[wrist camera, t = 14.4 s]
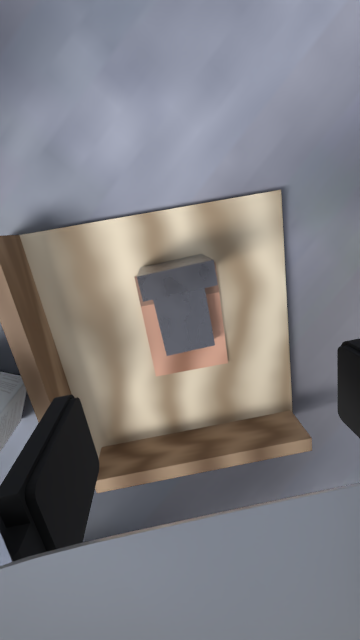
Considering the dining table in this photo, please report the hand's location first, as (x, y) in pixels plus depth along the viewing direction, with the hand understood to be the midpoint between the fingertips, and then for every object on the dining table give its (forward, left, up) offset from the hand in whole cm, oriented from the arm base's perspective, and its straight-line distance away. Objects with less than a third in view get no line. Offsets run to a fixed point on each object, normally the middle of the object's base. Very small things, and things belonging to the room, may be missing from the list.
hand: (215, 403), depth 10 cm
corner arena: (-2, -5, -20) cm, 21 cm away
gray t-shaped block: (0, -1, -19) cm, 19 cm away
